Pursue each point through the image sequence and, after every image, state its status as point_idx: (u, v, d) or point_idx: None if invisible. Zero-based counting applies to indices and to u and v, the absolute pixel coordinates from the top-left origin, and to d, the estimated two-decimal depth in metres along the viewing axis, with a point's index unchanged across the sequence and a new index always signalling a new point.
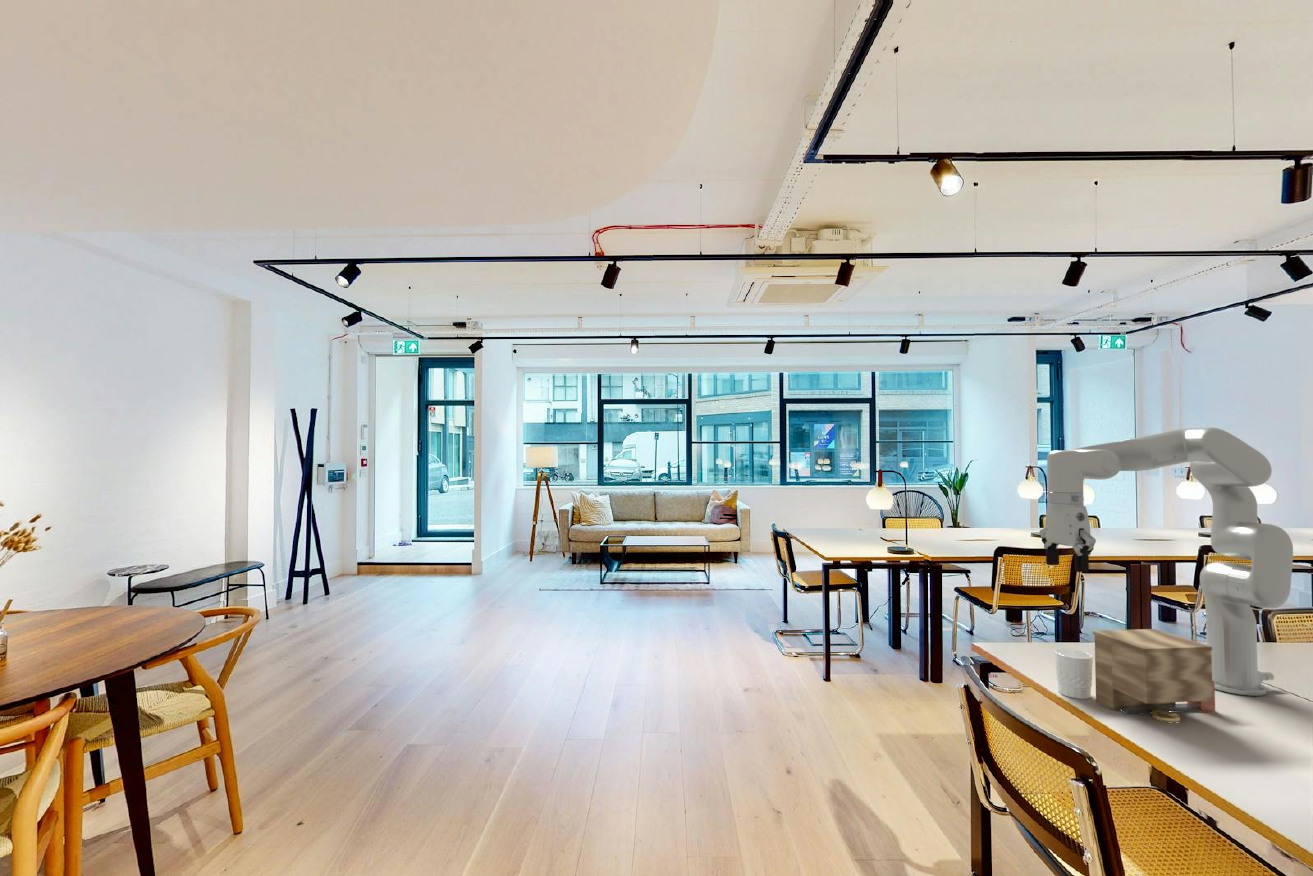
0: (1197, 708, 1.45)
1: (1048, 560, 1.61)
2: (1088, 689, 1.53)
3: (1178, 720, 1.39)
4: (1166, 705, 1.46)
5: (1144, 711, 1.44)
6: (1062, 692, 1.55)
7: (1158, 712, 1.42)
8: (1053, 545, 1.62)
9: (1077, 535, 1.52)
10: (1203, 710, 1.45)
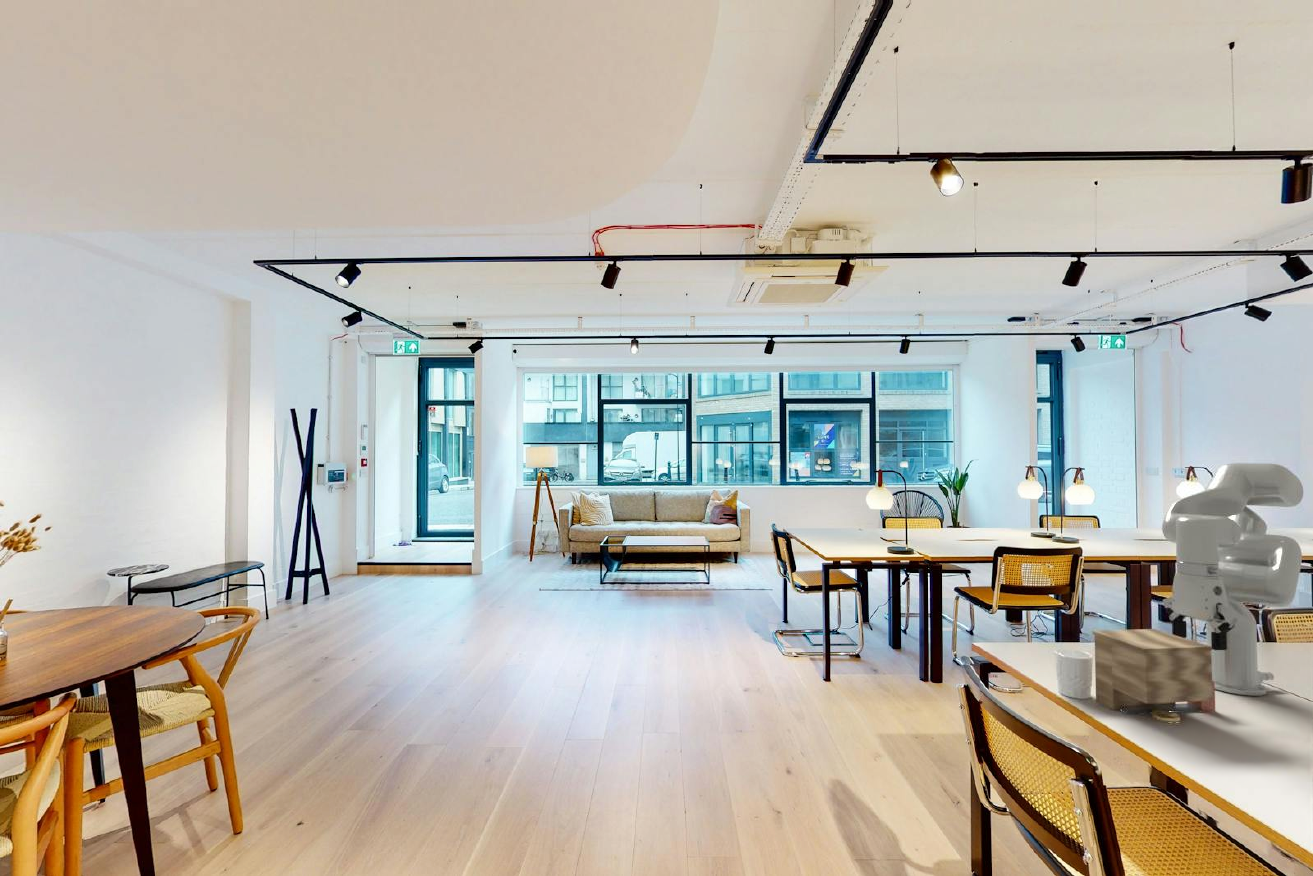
0: (1197, 708, 1.45)
1: (1174, 633, 1.51)
2: (1088, 689, 1.53)
3: (1178, 720, 1.39)
4: (1166, 705, 1.46)
5: (1144, 711, 1.44)
6: (1062, 692, 1.55)
7: (1158, 712, 1.42)
8: (1180, 616, 1.52)
9: (1214, 610, 1.42)
10: (1203, 710, 1.45)
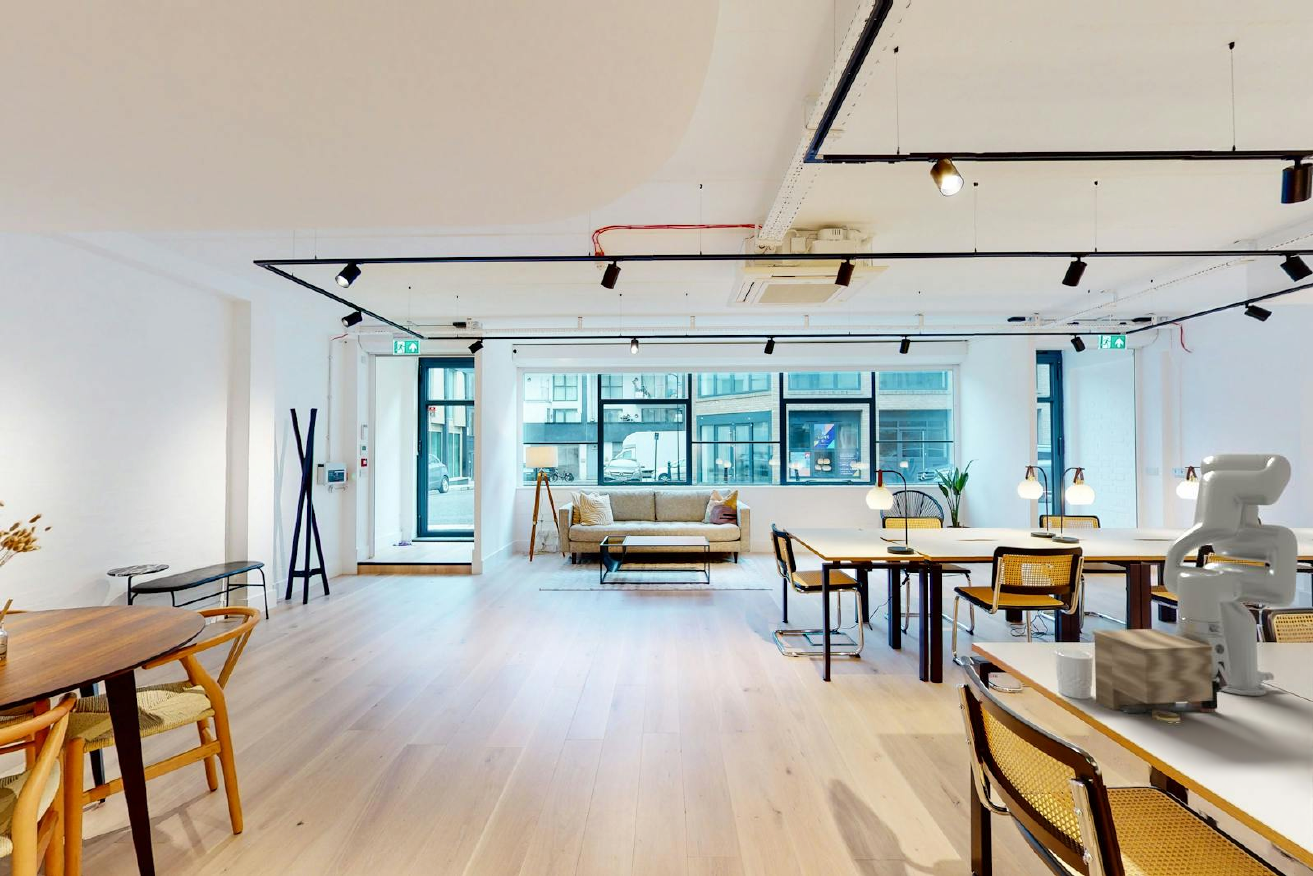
0: (1197, 708, 1.45)
1: None
2: (1088, 689, 1.53)
3: (1178, 720, 1.39)
4: (1166, 704, 1.46)
5: (1145, 710, 1.44)
6: (1062, 692, 1.55)
7: (1158, 712, 1.42)
8: None
9: (1216, 669, 1.42)
10: (1203, 710, 1.45)
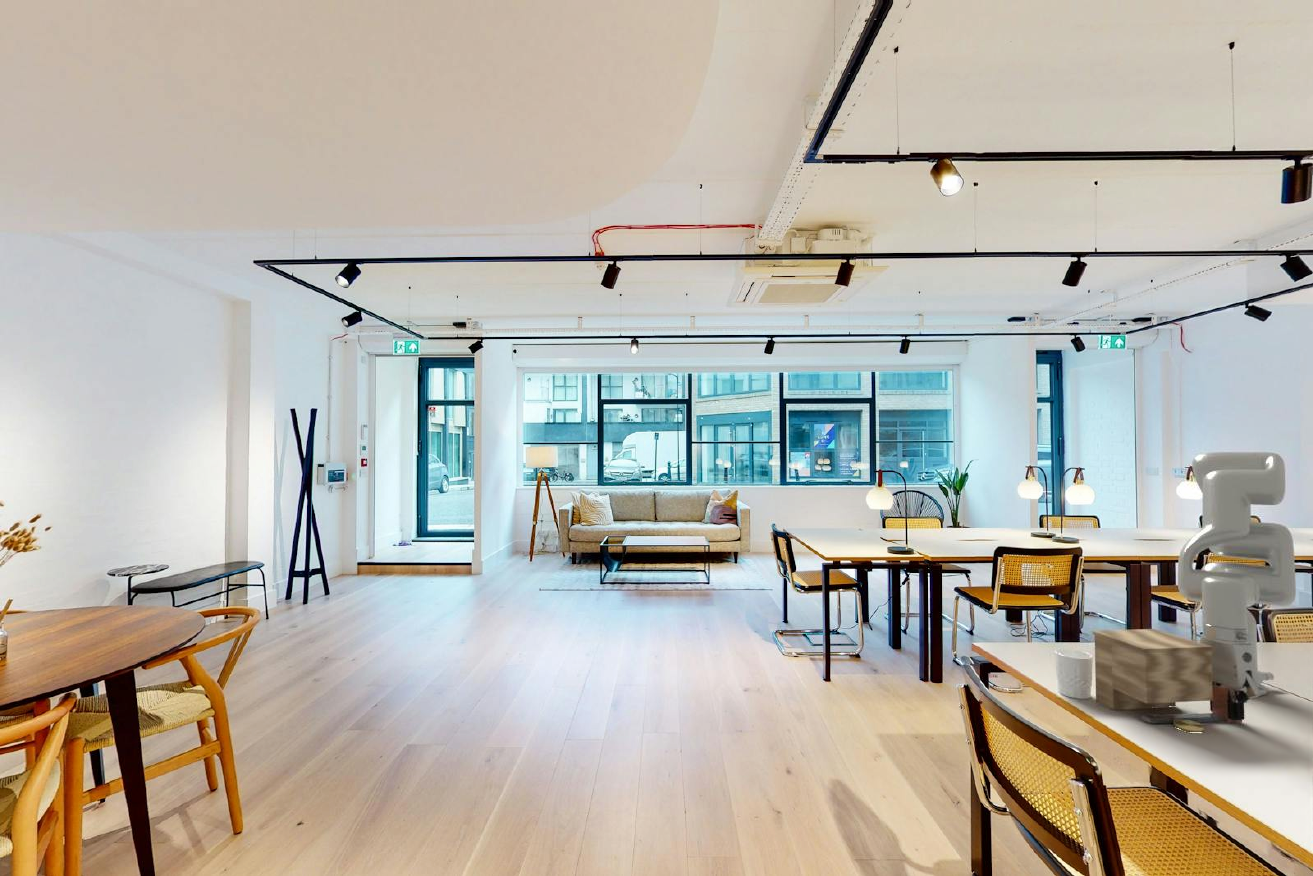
0: (1223, 718, 1.39)
1: None
2: (1088, 689, 1.53)
3: (1201, 730, 1.34)
4: (1190, 714, 1.40)
5: (1168, 720, 1.38)
6: (1062, 692, 1.55)
7: (1181, 721, 1.37)
8: None
9: (1244, 678, 1.36)
10: (1230, 721, 1.39)
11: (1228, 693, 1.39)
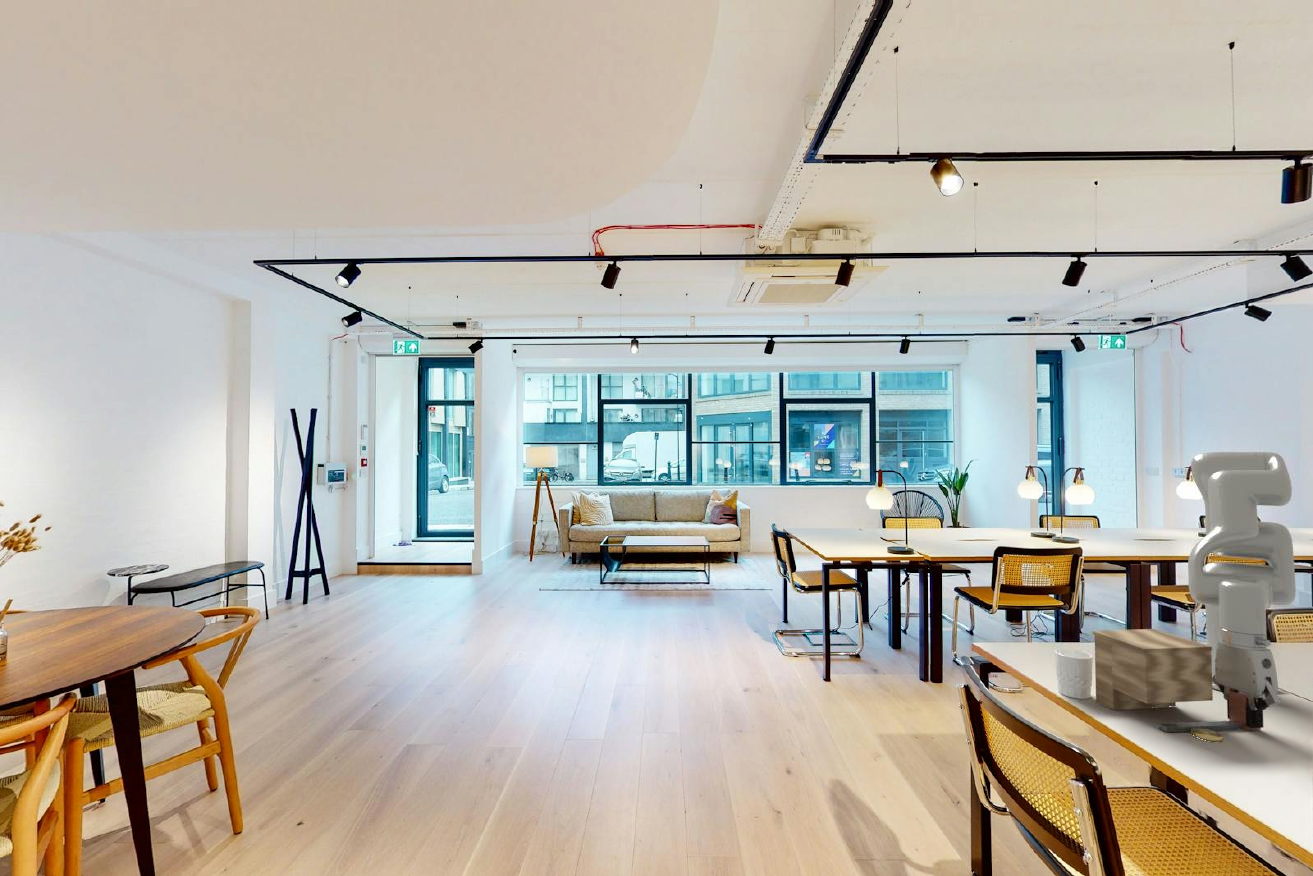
0: (1241, 726, 1.35)
1: None
2: (1088, 689, 1.53)
3: (1220, 739, 1.30)
4: (1207, 722, 1.36)
5: (1185, 729, 1.34)
6: (1062, 692, 1.55)
7: (1198, 731, 1.33)
8: None
9: (1263, 685, 1.32)
10: (1248, 729, 1.35)
11: (1246, 700, 1.35)
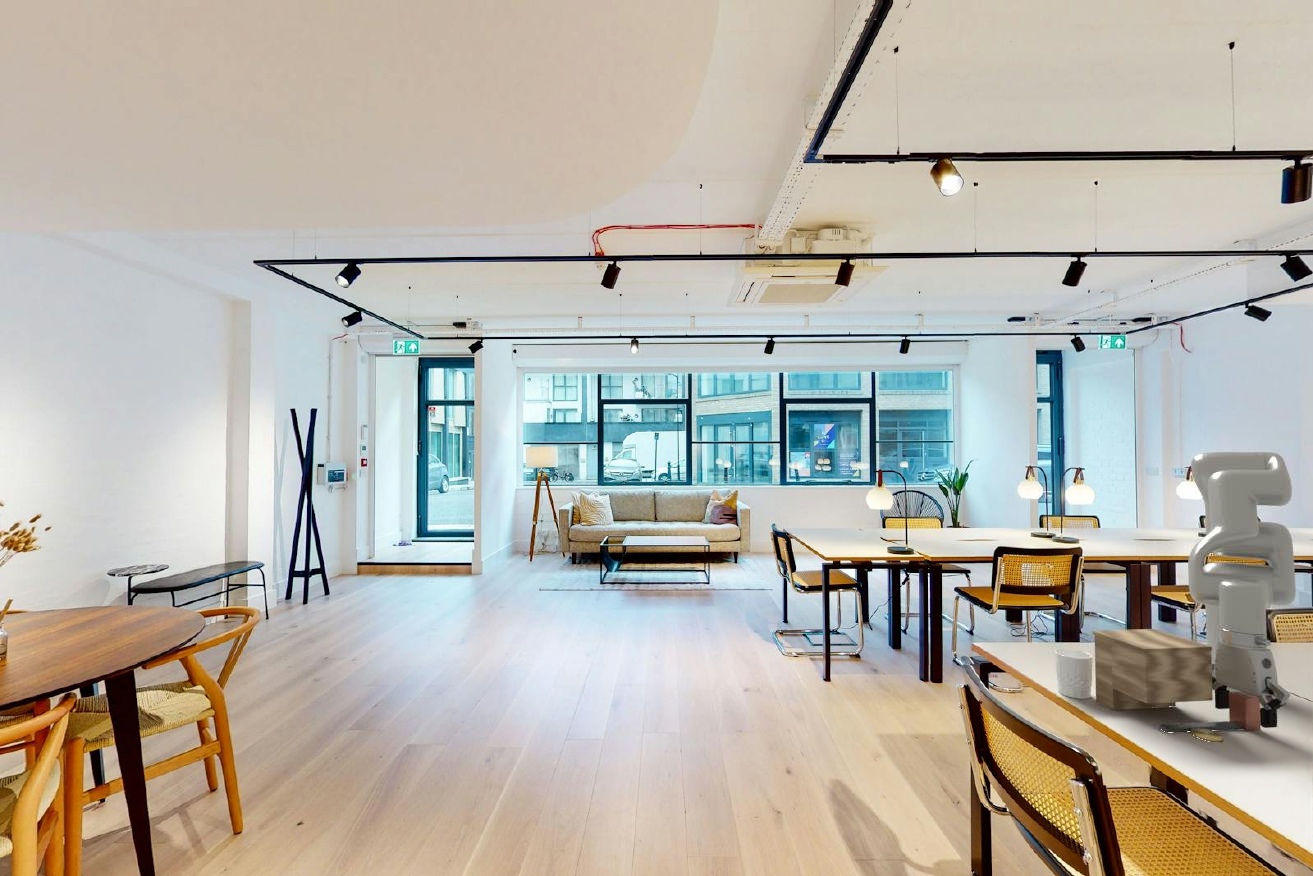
0: (1241, 726, 1.35)
1: (1218, 704, 1.41)
2: (1088, 689, 1.53)
3: (1221, 739, 1.30)
4: (1207, 723, 1.36)
5: (1185, 730, 1.34)
6: (1062, 692, 1.55)
7: (1198, 731, 1.33)
8: (1223, 686, 1.42)
9: (1263, 685, 1.32)
10: (1248, 729, 1.35)
11: (1246, 700, 1.35)
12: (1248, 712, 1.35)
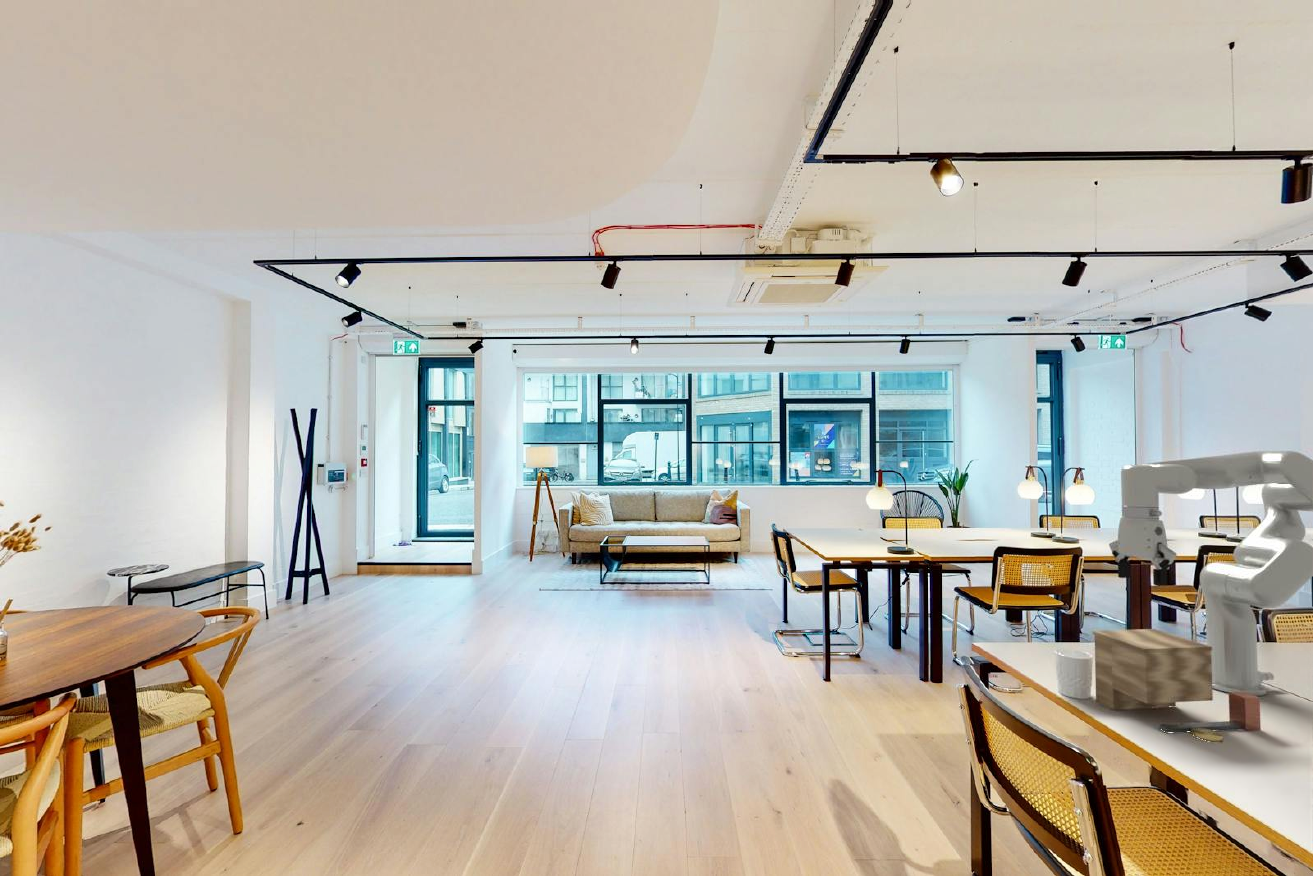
0: (1241, 726, 1.35)
1: (1120, 573, 1.63)
2: (1088, 689, 1.53)
3: (1221, 739, 1.30)
4: (1207, 723, 1.36)
5: (1185, 730, 1.34)
6: (1062, 692, 1.55)
7: (1198, 731, 1.33)
8: (1124, 558, 1.64)
9: (1156, 549, 1.54)
10: (1248, 729, 1.35)
11: (1246, 700, 1.35)
12: (1248, 712, 1.35)
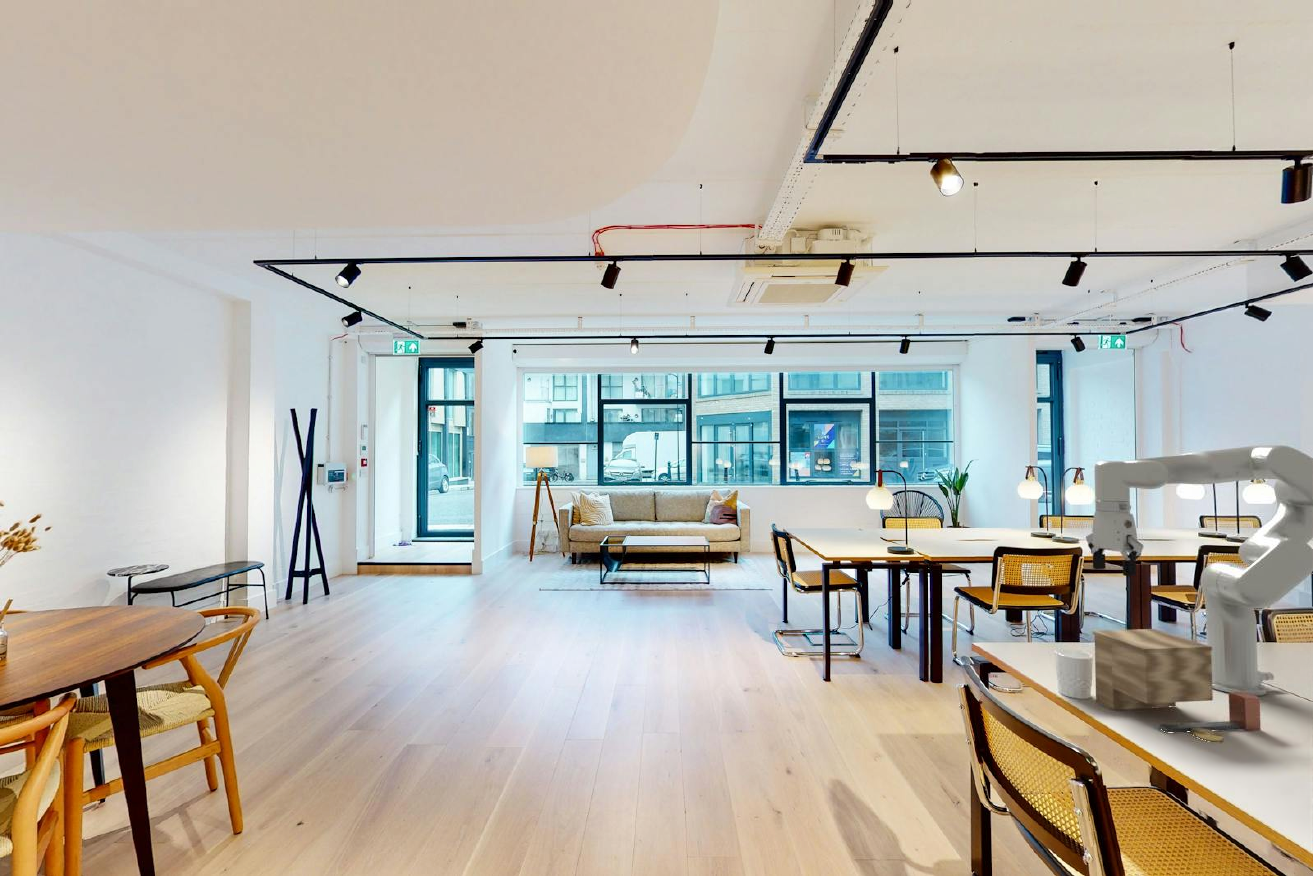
0: (1241, 726, 1.35)
1: (1095, 564, 1.71)
2: (1088, 689, 1.53)
3: (1220, 739, 1.30)
4: (1207, 723, 1.36)
5: (1185, 730, 1.34)
6: (1062, 692, 1.55)
7: (1199, 731, 1.33)
8: (1099, 550, 1.72)
9: (1125, 541, 1.62)
10: (1248, 729, 1.35)
11: (1246, 700, 1.35)
12: (1248, 712, 1.35)
